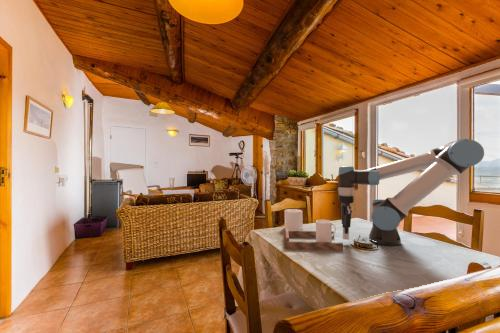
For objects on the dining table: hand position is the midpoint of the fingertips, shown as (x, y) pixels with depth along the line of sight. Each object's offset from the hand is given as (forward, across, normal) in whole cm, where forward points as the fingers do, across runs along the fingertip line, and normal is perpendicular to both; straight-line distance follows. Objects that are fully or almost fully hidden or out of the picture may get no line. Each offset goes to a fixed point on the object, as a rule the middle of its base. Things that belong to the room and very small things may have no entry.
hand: (345, 238), depth 127 cm
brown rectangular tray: (+3, 0, -18) cm, 18 cm away
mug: (+3, 0, -10) cm, 10 cm away
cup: (+3, -27, -26) cm, 38 cm away
